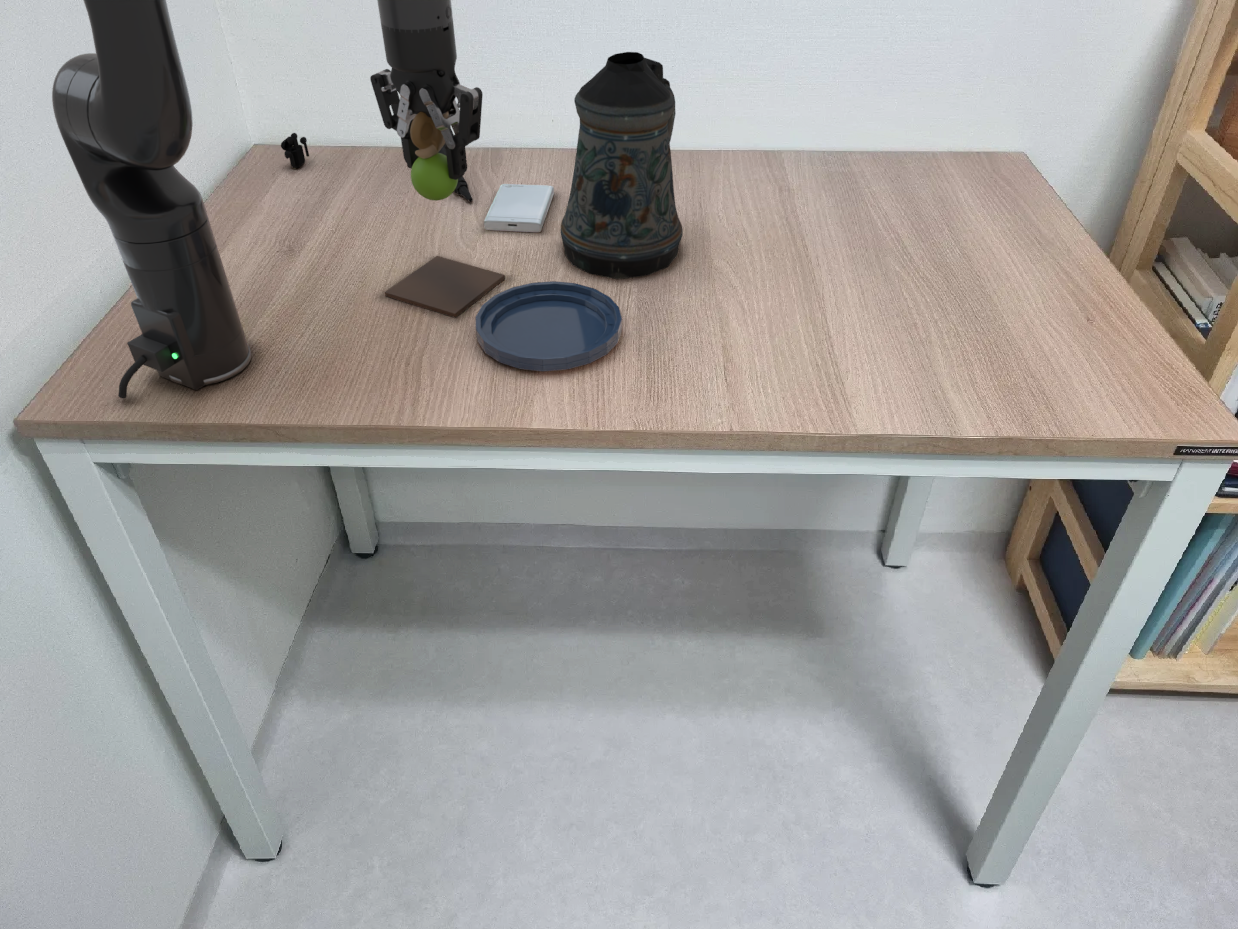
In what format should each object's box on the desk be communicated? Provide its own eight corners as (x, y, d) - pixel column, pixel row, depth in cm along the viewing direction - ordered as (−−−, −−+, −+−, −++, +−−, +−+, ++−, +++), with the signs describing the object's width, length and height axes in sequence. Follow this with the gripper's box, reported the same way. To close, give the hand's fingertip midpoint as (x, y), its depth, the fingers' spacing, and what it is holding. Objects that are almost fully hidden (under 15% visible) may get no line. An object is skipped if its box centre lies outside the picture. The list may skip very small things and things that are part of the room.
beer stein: (556, 278, 120) (547, 82, 104) (567, 213, 135) (560, 31, 118) (682, 281, 120) (693, 83, 103) (679, 215, 134) (688, 33, 118)
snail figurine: (474, 192, 110) (464, 90, 102) (439, 212, 106) (426, 107, 98) (440, 182, 112) (427, 81, 105) (404, 201, 108) (388, 97, 101)
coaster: (455, 317, 113) (455, 313, 112) (385, 296, 117) (384, 291, 116) (505, 278, 120) (505, 274, 120) (437, 259, 124) (436, 255, 124)
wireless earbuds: (293, 175, 145) (286, 143, 142) (279, 173, 145) (271, 142, 142) (312, 157, 150) (306, 127, 147) (298, 156, 150) (291, 125, 147)
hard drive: (500, 183, 139) (483, 219, 129) (553, 185, 138) (540, 221, 129) (501, 193, 140) (484, 230, 130) (554, 195, 139) (541, 232, 130)
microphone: (482, 218, 140) (436, 157, 152) (491, 183, 137) (443, 123, 148) (449, 215, 137) (404, 153, 148) (458, 180, 133) (411, 119, 145)
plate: (575, 390, 101) (574, 374, 100) (448, 349, 107) (446, 333, 106) (645, 318, 113) (646, 302, 111) (527, 284, 119) (526, 269, 117)
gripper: (339, 15, 96) (367, 171, 107) (450, 35, 91) (468, 196, 102) (385, -2, 101) (408, 149, 112) (493, 16, 96) (505, 172, 107)
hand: (436, 171), depth 107 cm, fingers closed on snail figurine, 5 cm apart
